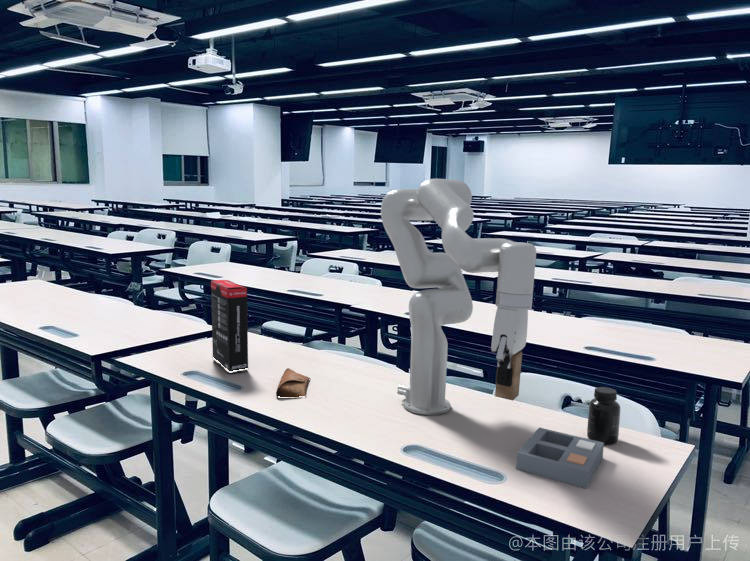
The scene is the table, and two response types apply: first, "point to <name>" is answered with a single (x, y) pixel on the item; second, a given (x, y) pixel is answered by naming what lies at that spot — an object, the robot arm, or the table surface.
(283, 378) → the sunglasses case
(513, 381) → the plug
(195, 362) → the table surface
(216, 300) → the graphics card box
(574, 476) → the socket block
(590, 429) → the supplement bottle
